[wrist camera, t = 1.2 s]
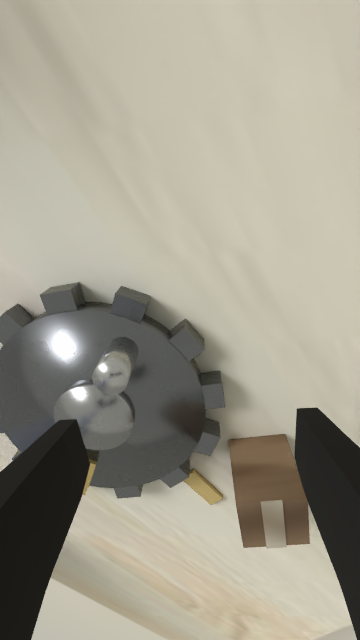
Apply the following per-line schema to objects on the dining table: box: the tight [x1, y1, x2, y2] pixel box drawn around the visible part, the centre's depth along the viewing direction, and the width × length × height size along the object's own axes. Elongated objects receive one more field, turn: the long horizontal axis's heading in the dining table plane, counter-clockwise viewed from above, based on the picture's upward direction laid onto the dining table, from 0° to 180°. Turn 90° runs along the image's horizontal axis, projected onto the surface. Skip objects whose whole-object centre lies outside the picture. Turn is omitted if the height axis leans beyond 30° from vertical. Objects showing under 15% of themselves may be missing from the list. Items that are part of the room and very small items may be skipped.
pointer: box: [183, 469, 223, 505], centre depth 24 cm, size 4×1×1 cm, turn 41°
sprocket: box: [0, 282, 225, 498], centre depth 19 cm, size 16×16×4 cm
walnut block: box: [228, 434, 310, 548], centre depth 21 cm, size 4×4×5 cm
